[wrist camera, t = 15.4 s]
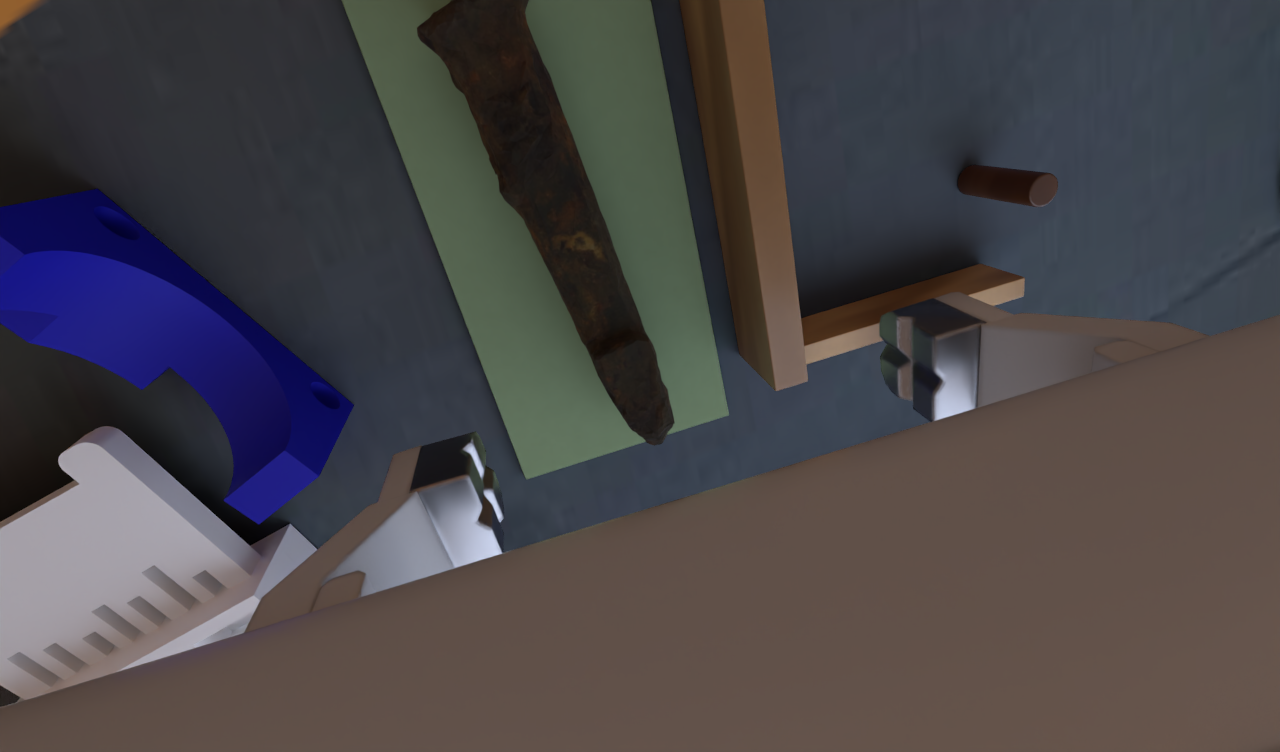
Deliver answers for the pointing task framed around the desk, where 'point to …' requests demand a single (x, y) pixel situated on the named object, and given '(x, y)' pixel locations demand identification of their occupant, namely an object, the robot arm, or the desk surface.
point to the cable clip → (166, 336)
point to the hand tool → (551, 194)
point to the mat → (502, 245)
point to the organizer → (123, 571)
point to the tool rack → (758, 210)
